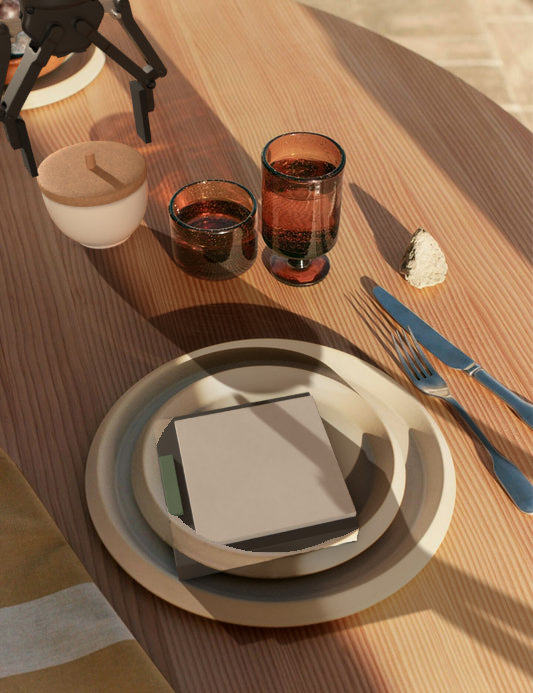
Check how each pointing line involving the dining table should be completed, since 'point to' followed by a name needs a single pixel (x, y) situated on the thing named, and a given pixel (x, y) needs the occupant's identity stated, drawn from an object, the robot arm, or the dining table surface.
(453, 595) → the dining table surface
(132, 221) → the lidded bowl
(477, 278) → the dining table surface
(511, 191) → the dining table surface
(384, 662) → the dining table surface
